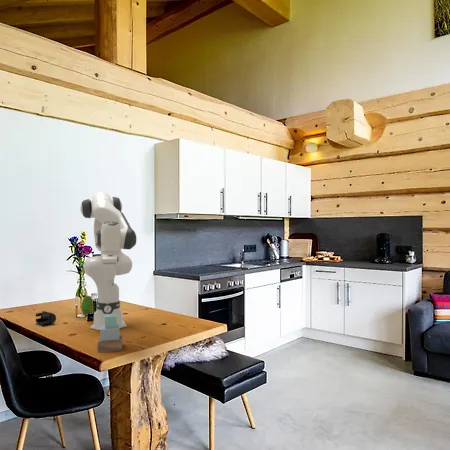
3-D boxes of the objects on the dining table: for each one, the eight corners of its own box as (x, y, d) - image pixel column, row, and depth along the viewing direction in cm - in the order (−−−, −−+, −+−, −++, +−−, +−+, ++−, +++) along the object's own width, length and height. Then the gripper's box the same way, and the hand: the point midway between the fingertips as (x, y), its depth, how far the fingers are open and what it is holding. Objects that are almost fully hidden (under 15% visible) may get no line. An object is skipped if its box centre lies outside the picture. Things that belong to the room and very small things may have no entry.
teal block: (105, 325, 179) (105, 314, 179) (116, 324, 181) (116, 314, 181) (105, 328, 174) (105, 317, 174) (116, 327, 176) (116, 316, 176)
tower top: (100, 336, 180) (100, 325, 180) (118, 334, 182) (119, 324, 182) (100, 341, 172) (100, 329, 172) (119, 339, 175) (119, 328, 175)
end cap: (56, 324, 221) (56, 312, 221) (43, 327, 215) (43, 314, 215) (47, 321, 227) (47, 310, 227) (35, 324, 221) (35, 312, 222)
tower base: (100, 346, 181) (100, 335, 181) (122, 345, 183) (122, 334, 183) (97, 353, 171) (97, 341, 172) (121, 351, 174) (121, 340, 174)
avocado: (78, 316, 242) (78, 296, 242) (85, 313, 249) (85, 294, 249) (90, 316, 240) (90, 296, 240) (96, 313, 248) (96, 294, 248)
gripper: (105, 255, 187) (105, 284, 187) (101, 259, 167) (101, 291, 167) (119, 255, 188) (119, 284, 188) (116, 259, 168) (116, 291, 168)
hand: (110, 288), depth 178 cm, fingers open, 8 cm apart
